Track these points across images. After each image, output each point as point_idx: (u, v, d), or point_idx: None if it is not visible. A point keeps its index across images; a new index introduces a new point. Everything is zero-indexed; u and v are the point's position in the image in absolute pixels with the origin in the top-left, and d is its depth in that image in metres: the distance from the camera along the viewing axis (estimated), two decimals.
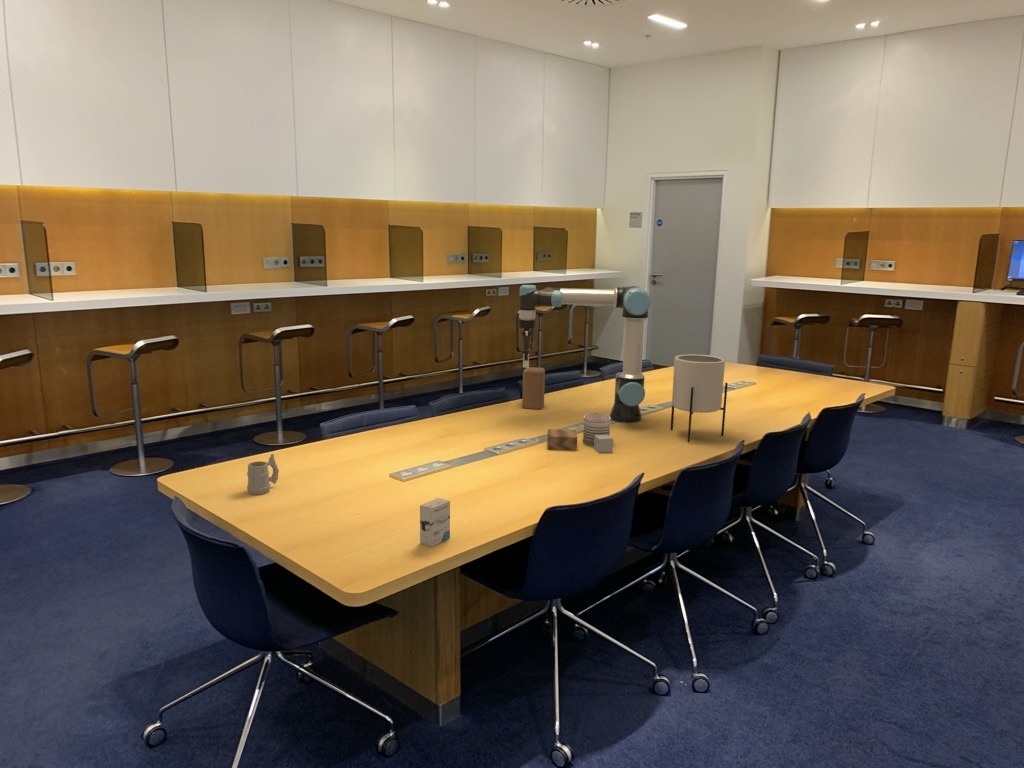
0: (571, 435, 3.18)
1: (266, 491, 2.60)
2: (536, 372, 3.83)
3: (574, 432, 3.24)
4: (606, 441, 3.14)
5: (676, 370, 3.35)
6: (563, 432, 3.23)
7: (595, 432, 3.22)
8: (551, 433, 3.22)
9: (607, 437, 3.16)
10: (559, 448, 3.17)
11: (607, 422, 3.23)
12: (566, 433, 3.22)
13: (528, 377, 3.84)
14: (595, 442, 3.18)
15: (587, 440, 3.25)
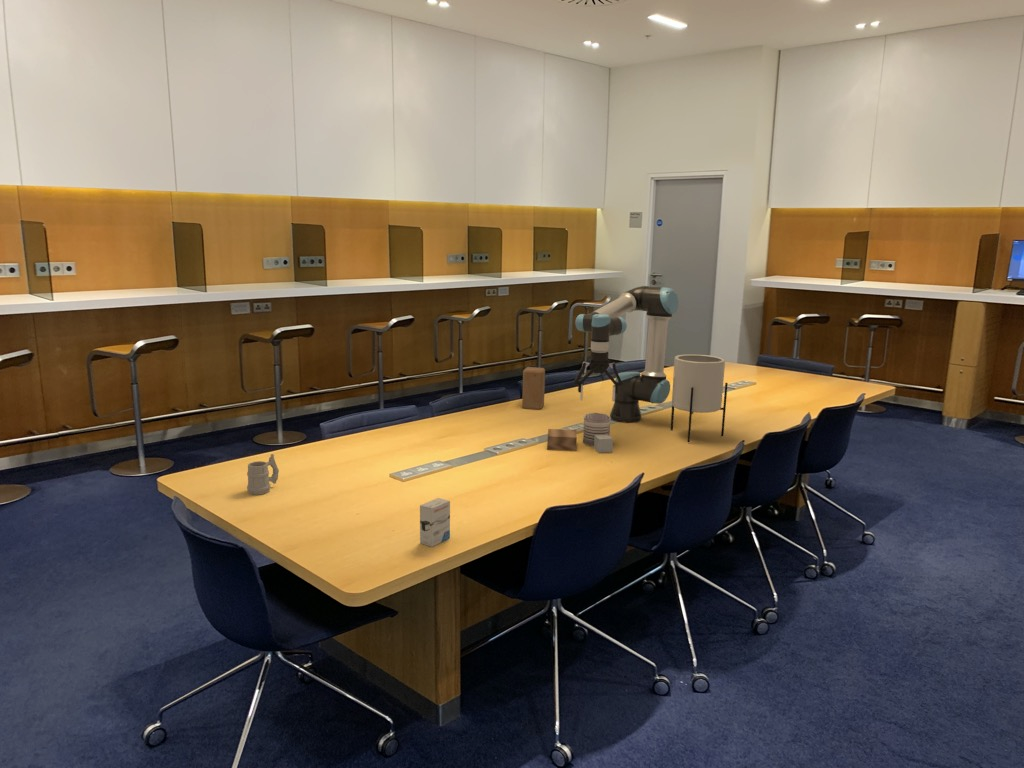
0: (571, 436, 3.18)
1: (266, 491, 2.60)
2: (536, 372, 3.83)
3: (574, 432, 3.23)
4: (606, 441, 3.14)
5: (676, 370, 3.35)
6: (563, 432, 3.23)
7: (595, 432, 3.23)
8: (550, 433, 3.22)
9: (607, 437, 3.16)
10: (558, 448, 3.18)
11: (607, 422, 3.23)
12: (566, 433, 3.22)
13: (528, 377, 3.84)
14: (595, 442, 3.18)
15: (587, 440, 3.25)
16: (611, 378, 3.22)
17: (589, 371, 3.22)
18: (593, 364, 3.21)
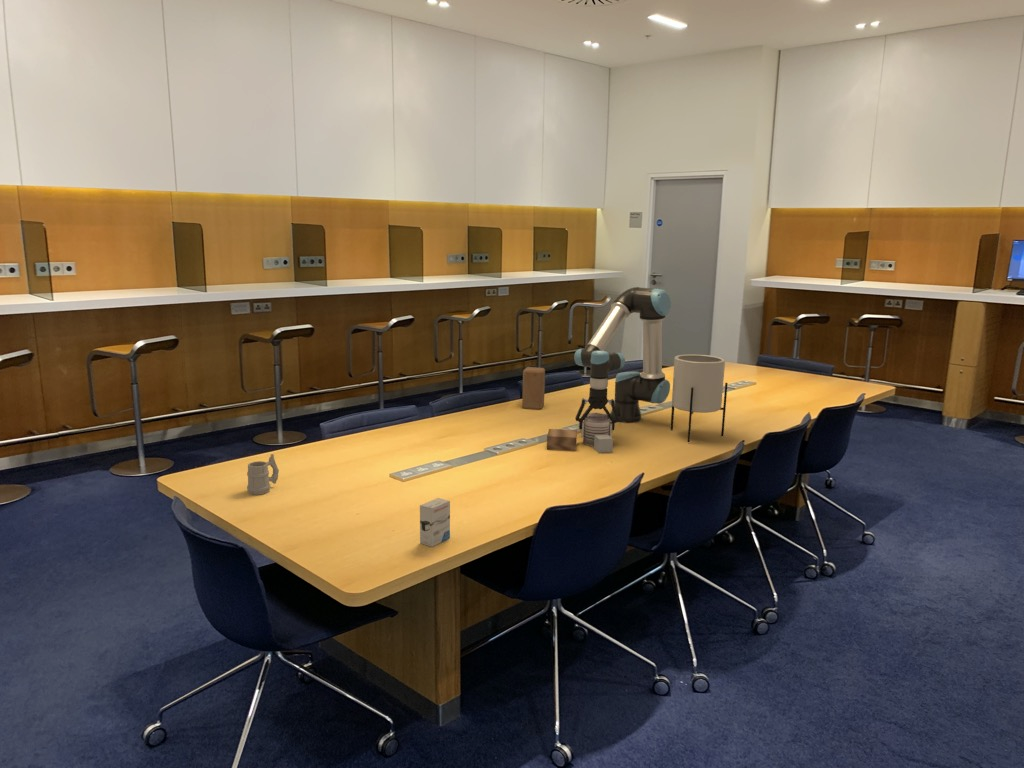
0: (570, 436, 3.18)
1: (266, 491, 2.60)
2: (536, 372, 3.83)
3: (574, 432, 3.23)
4: (606, 441, 3.14)
5: (676, 370, 3.35)
6: (563, 432, 3.23)
7: (595, 432, 3.23)
8: (550, 433, 3.22)
9: (607, 437, 3.16)
10: (558, 448, 3.18)
11: (607, 422, 3.23)
12: (566, 433, 3.22)
13: (528, 377, 3.84)
14: (595, 442, 3.18)
15: (587, 440, 3.25)
16: (609, 415, 3.25)
17: (589, 408, 3.25)
18: (592, 400, 3.24)
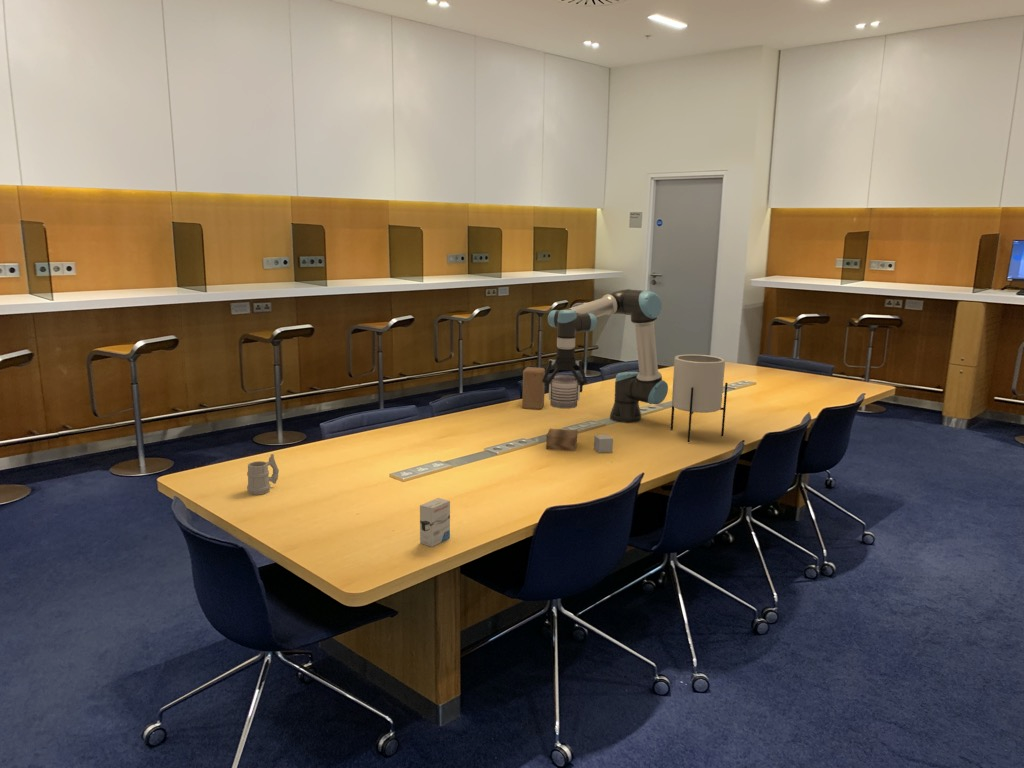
0: (570, 436, 3.18)
1: (266, 491, 2.60)
2: (536, 372, 3.83)
3: (574, 432, 3.23)
4: (606, 441, 3.14)
5: (676, 370, 3.35)
6: (563, 432, 3.23)
7: (562, 393, 3.13)
8: (550, 432, 3.22)
9: (607, 437, 3.16)
10: (557, 448, 3.18)
11: (574, 383, 3.14)
12: (566, 433, 3.22)
13: (528, 377, 3.85)
14: (595, 442, 3.18)
15: (554, 402, 3.16)
16: (576, 376, 3.16)
17: (556, 369, 3.16)
18: (559, 361, 3.15)
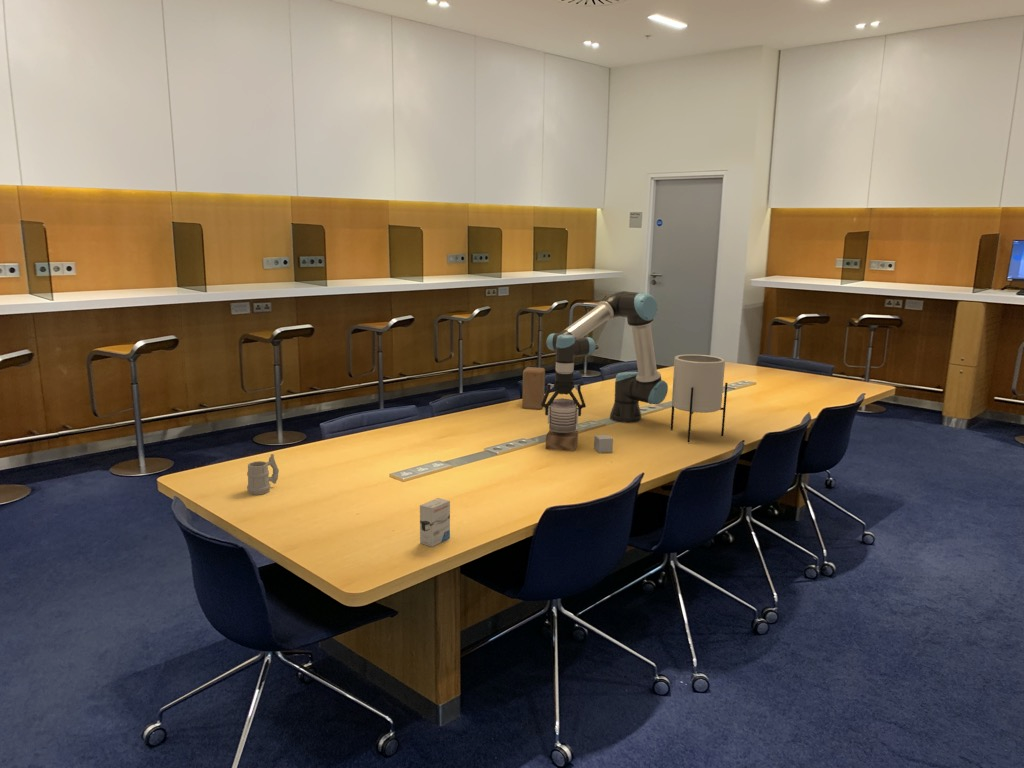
0: (569, 436, 3.18)
1: (266, 491, 2.60)
2: (536, 372, 3.83)
3: (575, 433, 3.23)
4: (606, 441, 3.14)
5: (676, 370, 3.35)
6: None
7: (561, 417, 3.15)
8: (550, 432, 3.22)
9: (607, 437, 3.16)
10: (557, 448, 3.18)
11: (573, 407, 3.16)
12: (566, 433, 3.22)
13: (528, 377, 3.85)
14: (595, 442, 3.18)
15: (553, 426, 3.18)
16: (575, 400, 3.18)
17: (554, 393, 3.18)
18: (558, 385, 3.17)
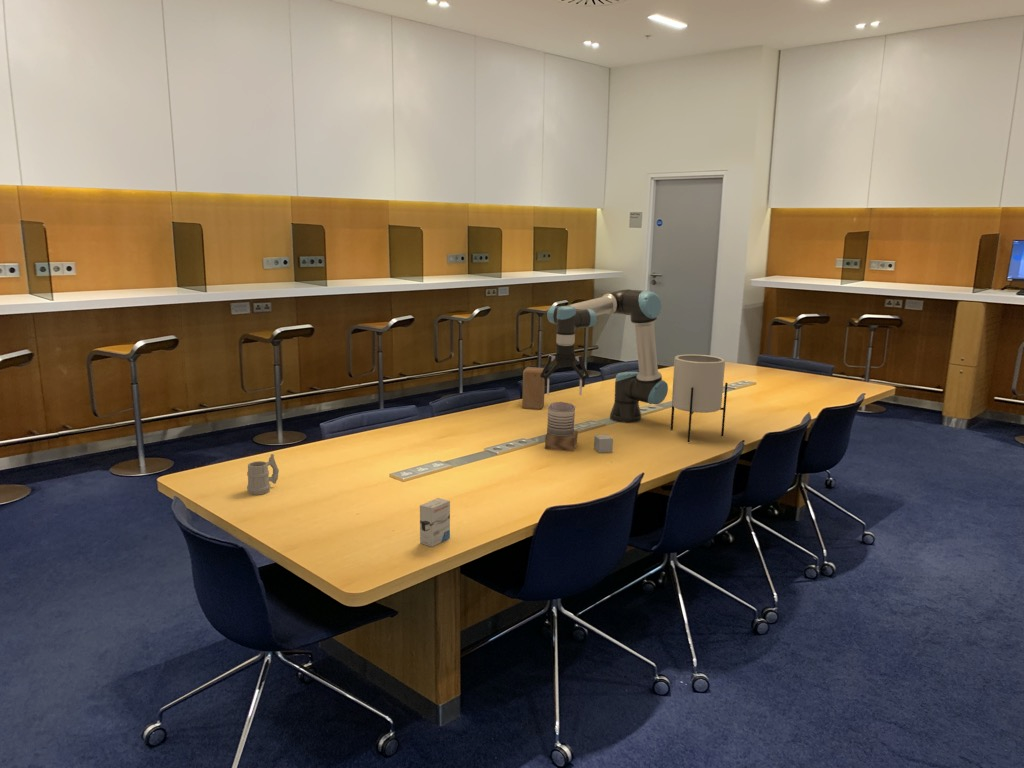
0: (569, 436, 3.18)
1: (266, 491, 2.60)
2: (536, 372, 3.83)
3: (574, 433, 3.23)
4: (606, 441, 3.14)
5: (676, 370, 3.35)
6: None
7: (560, 421, 3.16)
8: None
9: (607, 437, 3.16)
10: (556, 448, 3.18)
11: (571, 411, 3.17)
12: None
13: (528, 377, 3.84)
14: (595, 442, 3.18)
15: (551, 430, 3.18)
16: (578, 371, 3.16)
17: (555, 364, 3.16)
18: (559, 357, 3.15)
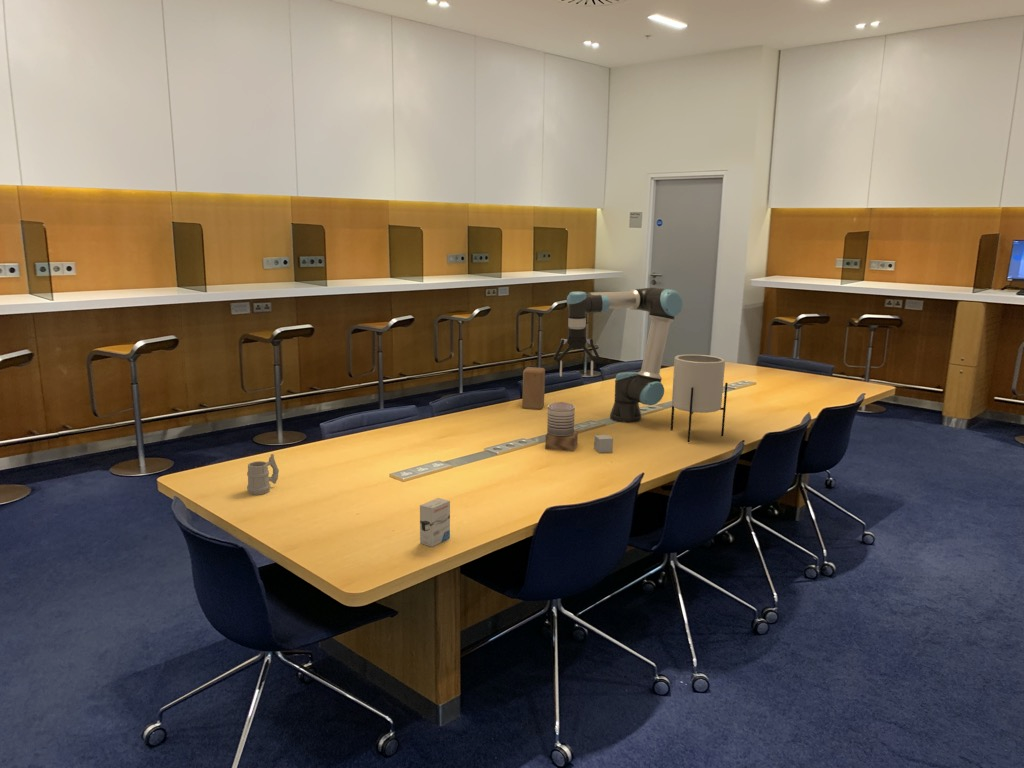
0: (569, 436, 3.18)
1: (266, 491, 2.60)
2: (536, 372, 3.83)
3: (574, 433, 3.23)
4: (606, 441, 3.14)
5: (676, 370, 3.35)
6: None
7: (558, 420, 3.16)
8: None
9: (607, 437, 3.16)
10: (556, 448, 3.18)
11: (570, 411, 3.17)
12: None
13: (528, 377, 3.84)
14: (595, 442, 3.18)
15: (550, 429, 3.19)
16: (589, 353, 3.31)
17: (567, 347, 3.31)
18: (571, 340, 3.30)
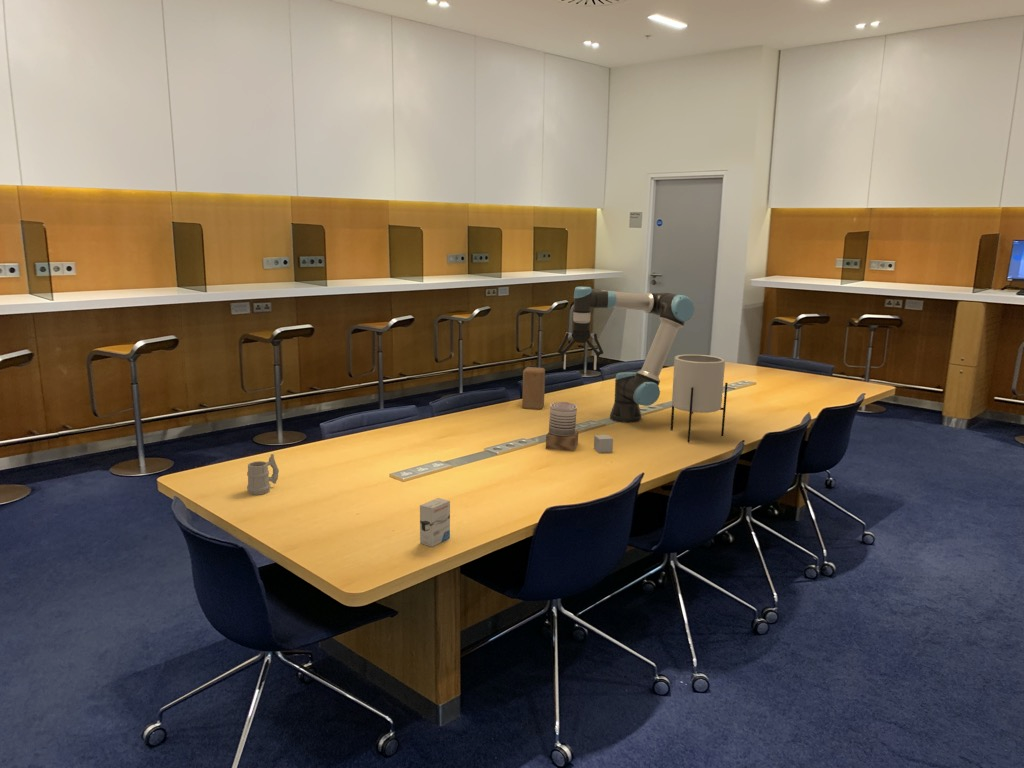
0: (569, 436, 3.18)
1: (266, 491, 2.60)
2: (536, 372, 3.83)
3: (575, 433, 3.23)
4: (606, 441, 3.14)
5: (676, 370, 3.35)
6: None
7: (558, 420, 3.16)
8: None
9: (607, 437, 3.16)
10: (557, 448, 3.18)
11: (571, 411, 3.16)
12: None
13: (528, 377, 3.85)
14: (595, 442, 3.18)
15: (551, 428, 3.20)
16: (592, 347, 3.39)
17: (572, 341, 3.39)
18: (575, 334, 3.38)
